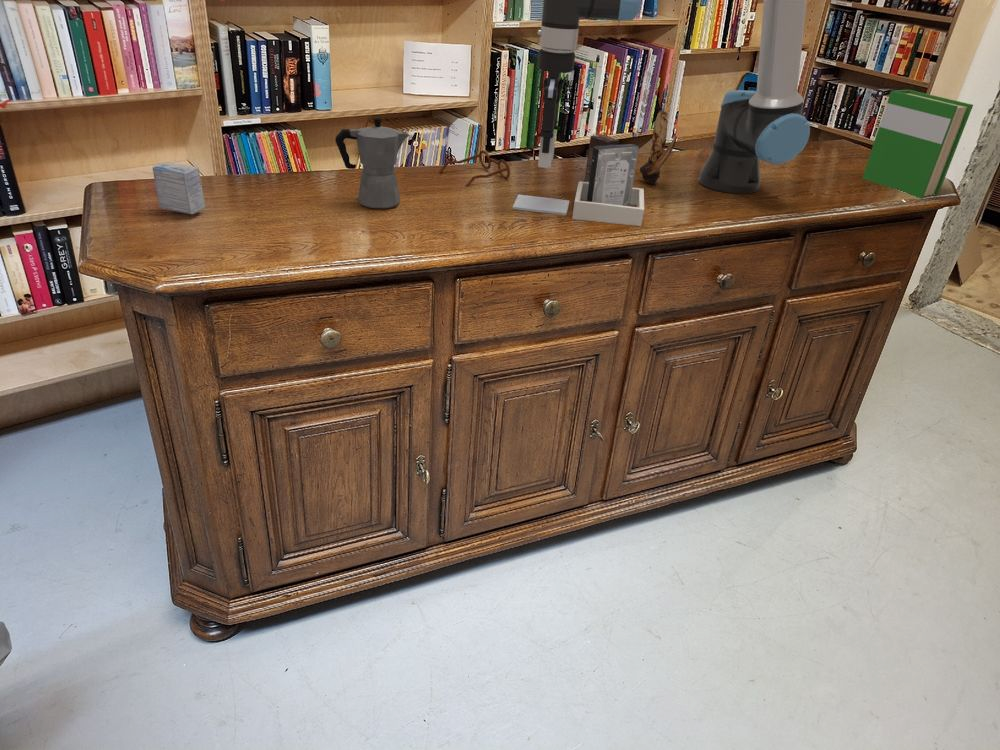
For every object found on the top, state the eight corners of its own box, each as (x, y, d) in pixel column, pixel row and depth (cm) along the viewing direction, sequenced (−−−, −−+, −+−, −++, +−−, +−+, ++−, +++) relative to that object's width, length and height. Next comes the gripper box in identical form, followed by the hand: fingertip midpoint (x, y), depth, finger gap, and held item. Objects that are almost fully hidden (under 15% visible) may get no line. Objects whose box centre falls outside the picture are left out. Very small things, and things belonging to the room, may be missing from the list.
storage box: (640, 205, 173) (643, 188, 171) (641, 227, 161) (644, 209, 159) (576, 197, 175) (578, 181, 173) (572, 219, 162) (574, 201, 160)
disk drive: (590, 216, 165) (599, 148, 157) (584, 211, 167) (592, 145, 159) (629, 212, 169) (640, 146, 161) (623, 208, 171) (633, 143, 163)
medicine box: (206, 209, 152) (199, 167, 148) (191, 215, 149) (184, 172, 144) (173, 202, 154) (166, 160, 150) (158, 208, 151) (151, 166, 146)
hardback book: (936, 200, 194) (973, 104, 181) (919, 203, 190) (955, 106, 178) (877, 180, 206) (908, 89, 194) (860, 182, 203) (891, 90, 190)
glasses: (510, 182, 183) (511, 162, 180) (465, 188, 176) (466, 167, 174) (481, 167, 192) (482, 148, 189) (437, 173, 185) (438, 153, 183)
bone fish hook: (667, 192, 184) (682, 117, 174) (650, 192, 182) (663, 117, 173) (652, 180, 191) (665, 108, 182) (635, 180, 190) (647, 107, 180)
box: (612, 189, 183) (620, 139, 176) (600, 191, 180) (607, 141, 174) (595, 182, 186) (602, 133, 180) (582, 184, 184) (589, 135, 178)
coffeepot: (404, 193, 169) (404, 112, 159) (412, 208, 161) (413, 123, 152) (336, 195, 165) (331, 111, 155) (341, 210, 157) (337, 123, 148)
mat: (569, 202, 172) (569, 200, 171) (566, 215, 164) (566, 213, 164) (518, 196, 173) (518, 194, 172) (512, 209, 165) (512, 206, 165)
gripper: (543, 42, 159) (533, 151, 171) (533, 54, 144) (523, 173, 156) (578, 45, 158) (565, 154, 171) (572, 58, 143) (558, 177, 155)
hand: (545, 163), depth 163 cm, fingers open, 5 cm apart
